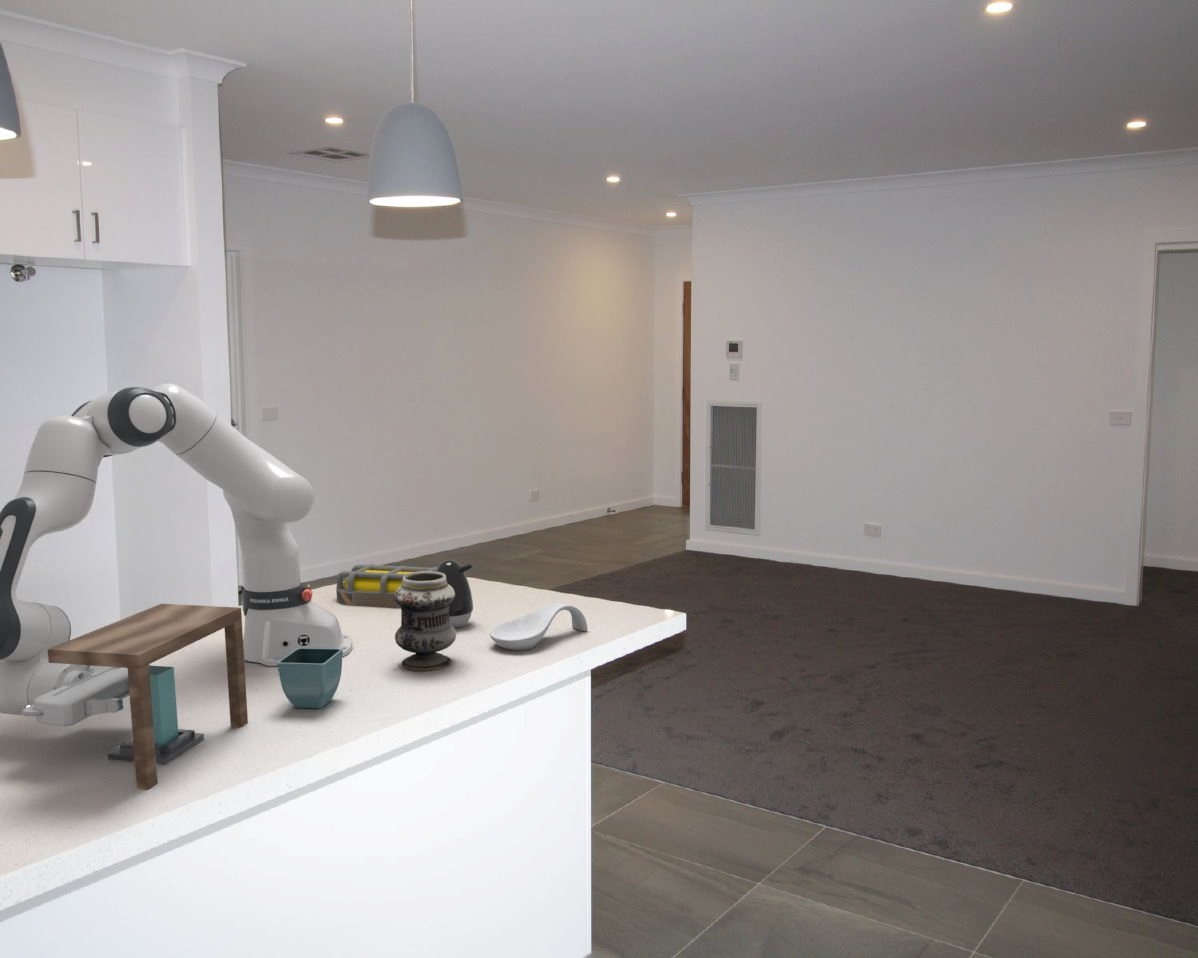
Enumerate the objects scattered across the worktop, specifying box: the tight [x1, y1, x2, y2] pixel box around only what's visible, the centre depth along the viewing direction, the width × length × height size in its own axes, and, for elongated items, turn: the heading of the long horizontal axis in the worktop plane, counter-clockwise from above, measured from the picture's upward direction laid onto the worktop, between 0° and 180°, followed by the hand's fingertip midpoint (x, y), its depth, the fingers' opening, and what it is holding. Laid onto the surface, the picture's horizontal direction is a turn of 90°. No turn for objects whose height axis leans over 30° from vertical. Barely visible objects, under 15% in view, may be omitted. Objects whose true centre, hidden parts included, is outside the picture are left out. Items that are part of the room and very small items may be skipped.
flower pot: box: [276, 648, 343, 709], centre depth 178 cm, size 9×9×9 cm
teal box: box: [149, 664, 179, 746], centre depth 158 cm, size 5×4×12 cm
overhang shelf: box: [48, 603, 249, 790], centre depth 157 cm, size 15×26×20 cm, turn 168°
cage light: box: [335, 563, 438, 609], centre depth 250 cm, size 15×8×30 cm
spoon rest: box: [489, 602, 588, 651], centre depth 215 cm, size 24×12×7 cm, turn 133°
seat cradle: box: [107, 728, 205, 766], centre depth 159 cm, size 10×10×2 cm
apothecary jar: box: [394, 571, 457, 672], centre depth 199 cm, size 12×12×18 cm
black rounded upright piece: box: [436, 559, 474, 629], centre depth 226 cm, size 10×10×15 cm
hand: (140, 695), depth 158 cm, fingers open, 8 cm apart
